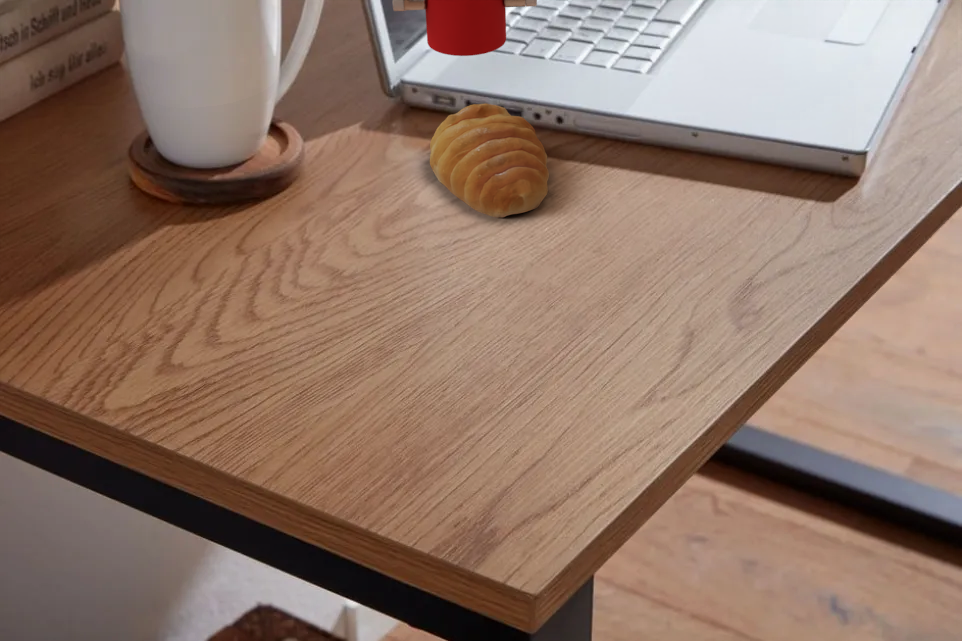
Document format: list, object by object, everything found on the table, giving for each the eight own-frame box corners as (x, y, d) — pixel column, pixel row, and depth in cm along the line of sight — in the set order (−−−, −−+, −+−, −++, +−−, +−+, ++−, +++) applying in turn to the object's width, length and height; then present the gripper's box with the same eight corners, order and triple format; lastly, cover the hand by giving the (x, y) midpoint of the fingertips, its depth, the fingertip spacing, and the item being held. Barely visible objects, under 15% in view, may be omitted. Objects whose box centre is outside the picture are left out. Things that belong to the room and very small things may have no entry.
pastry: (575, 214, 78) (575, 155, 76) (465, 235, 76) (462, 176, 74) (522, 146, 85) (520, 90, 83) (420, 164, 84) (416, 108, 82)
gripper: (704, -357, 55) (687, -28, 62) (207, -337, 55) (251, -13, 63) (727, -334, 49) (706, 22, 57) (178, -312, 50) (230, 39, 58)
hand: (464, 4), depth 60 cm, fingers closed on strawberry, 3 cm apart
